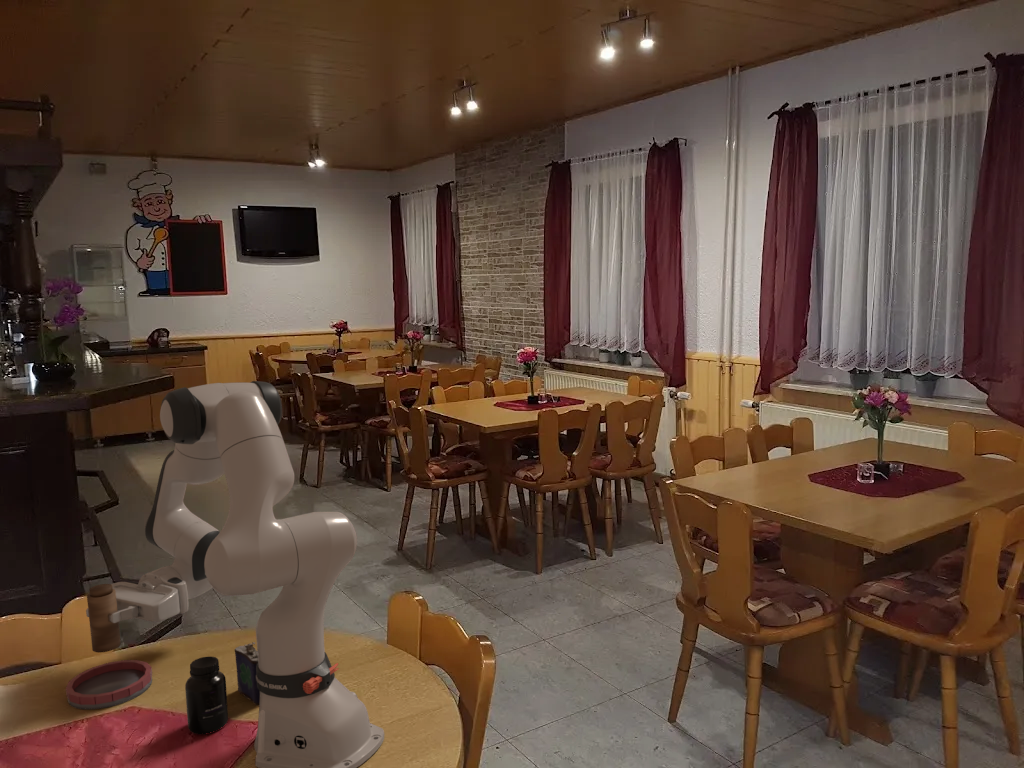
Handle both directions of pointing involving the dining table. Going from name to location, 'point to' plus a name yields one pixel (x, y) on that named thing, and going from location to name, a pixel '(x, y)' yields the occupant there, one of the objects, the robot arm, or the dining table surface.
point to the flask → (247, 672)
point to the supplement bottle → (206, 696)
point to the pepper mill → (103, 618)
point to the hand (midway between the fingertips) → (99, 616)
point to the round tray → (109, 684)
